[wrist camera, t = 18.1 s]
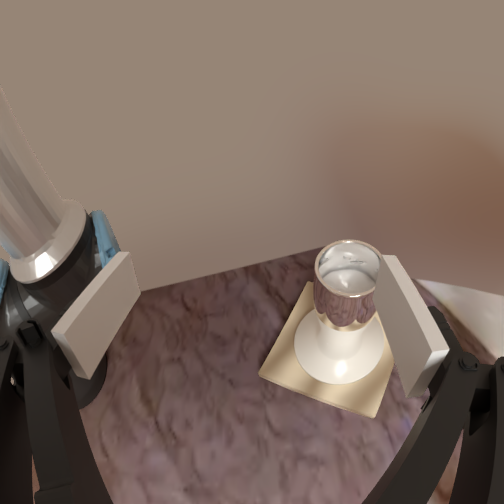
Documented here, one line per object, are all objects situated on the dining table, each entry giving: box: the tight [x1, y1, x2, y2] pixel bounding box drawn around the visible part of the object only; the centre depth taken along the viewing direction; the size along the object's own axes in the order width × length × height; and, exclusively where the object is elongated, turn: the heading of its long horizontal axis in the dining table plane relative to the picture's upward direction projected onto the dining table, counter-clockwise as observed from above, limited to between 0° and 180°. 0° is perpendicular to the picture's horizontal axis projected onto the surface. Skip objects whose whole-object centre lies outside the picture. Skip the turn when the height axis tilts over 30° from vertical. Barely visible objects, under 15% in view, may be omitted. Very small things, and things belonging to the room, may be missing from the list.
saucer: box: [294, 309, 384, 385], centre depth 36 cm, size 12×12×1 cm
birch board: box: [258, 281, 394, 419], centre depth 36 cm, size 16×16×2 cm
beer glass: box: [313, 240, 382, 361], centre depth 30 cm, size 7×7×15 cm
